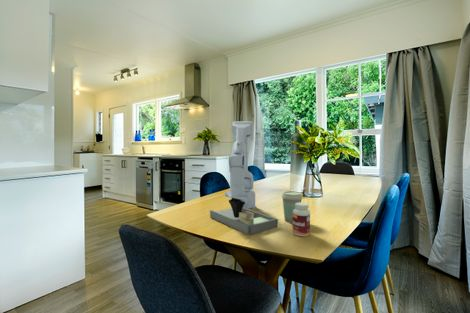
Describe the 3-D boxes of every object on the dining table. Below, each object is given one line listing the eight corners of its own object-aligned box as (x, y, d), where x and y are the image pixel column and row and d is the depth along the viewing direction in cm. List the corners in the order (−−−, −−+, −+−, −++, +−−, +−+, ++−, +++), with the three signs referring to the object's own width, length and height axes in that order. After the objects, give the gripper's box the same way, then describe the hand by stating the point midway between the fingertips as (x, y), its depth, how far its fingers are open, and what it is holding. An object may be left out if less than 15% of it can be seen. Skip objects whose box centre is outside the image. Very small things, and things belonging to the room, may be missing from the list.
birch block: (247, 220, 98) (247, 211, 98) (253, 223, 94) (253, 213, 94) (238, 222, 95) (239, 212, 95) (245, 225, 92) (245, 215, 92)
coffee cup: (302, 218, 107) (303, 191, 107) (301, 225, 99) (301, 195, 99) (282, 217, 110) (283, 190, 109) (280, 222, 102) (280, 194, 101)
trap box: (236, 211, 118) (236, 205, 118) (277, 227, 97) (277, 219, 96) (210, 217, 110) (210, 210, 109) (249, 235, 88) (249, 226, 88)
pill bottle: (289, 234, 89) (289, 204, 89) (296, 229, 94) (297, 201, 93) (305, 238, 85) (306, 206, 85) (312, 233, 90) (313, 203, 89)
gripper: (219, 182, 102) (219, 214, 103) (240, 187, 91) (240, 223, 92) (232, 180, 107) (232, 211, 107) (254, 185, 95) (254, 220, 96)
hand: (237, 217), depth 100 cm, fingers closed
